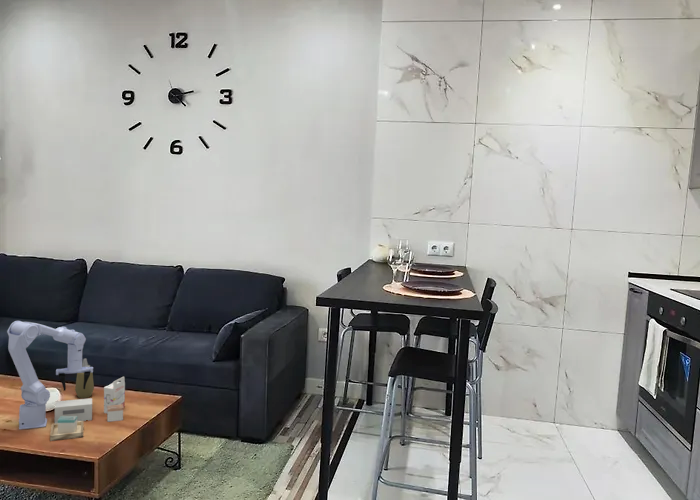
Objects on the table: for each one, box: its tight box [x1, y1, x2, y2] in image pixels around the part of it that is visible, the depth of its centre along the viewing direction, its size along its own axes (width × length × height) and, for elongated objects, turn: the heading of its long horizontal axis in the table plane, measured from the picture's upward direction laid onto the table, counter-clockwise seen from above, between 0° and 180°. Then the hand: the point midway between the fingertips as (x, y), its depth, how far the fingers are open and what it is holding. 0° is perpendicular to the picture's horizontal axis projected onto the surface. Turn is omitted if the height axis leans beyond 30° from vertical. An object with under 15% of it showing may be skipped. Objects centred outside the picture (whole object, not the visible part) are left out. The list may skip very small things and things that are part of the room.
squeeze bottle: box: [74, 358, 95, 399], centre depth 262 cm, size 8×8×18 cm
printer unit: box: [54, 397, 93, 424], centre depth 237 cm, size 14×8×7 cm, turn 115°
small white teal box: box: [58, 416, 77, 434], centre depth 224 cm, size 6×4×6 cm
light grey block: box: [106, 404, 124, 423], centre depth 239 cm, size 6×4×6 cm
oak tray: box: [49, 421, 85, 442], centre depth 224 cm, size 12×12×2 cm
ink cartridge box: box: [103, 376, 126, 414], centre depth 248 cm, size 9×5×15 cm, turn 168°
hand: (74, 389), depth 245 cm, fingers open, 7 cm apart
